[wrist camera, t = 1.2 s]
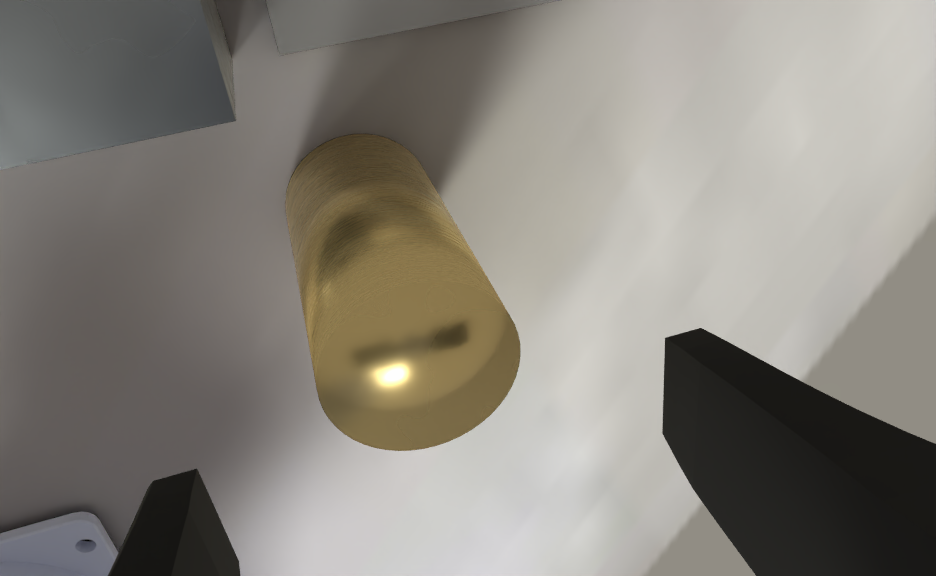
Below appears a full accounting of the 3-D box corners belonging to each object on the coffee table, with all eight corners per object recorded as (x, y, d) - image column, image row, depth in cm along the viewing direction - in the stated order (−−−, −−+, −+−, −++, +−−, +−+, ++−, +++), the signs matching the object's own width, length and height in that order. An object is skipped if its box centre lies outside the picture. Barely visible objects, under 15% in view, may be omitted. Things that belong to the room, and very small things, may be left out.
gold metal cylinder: (439, 248, 20) (528, 418, 15) (304, 281, 20) (341, 473, 14) (418, 119, 18) (511, 257, 13) (267, 152, 18) (293, 312, 12)
